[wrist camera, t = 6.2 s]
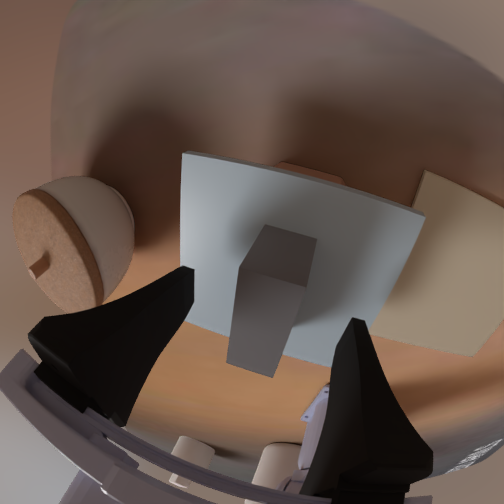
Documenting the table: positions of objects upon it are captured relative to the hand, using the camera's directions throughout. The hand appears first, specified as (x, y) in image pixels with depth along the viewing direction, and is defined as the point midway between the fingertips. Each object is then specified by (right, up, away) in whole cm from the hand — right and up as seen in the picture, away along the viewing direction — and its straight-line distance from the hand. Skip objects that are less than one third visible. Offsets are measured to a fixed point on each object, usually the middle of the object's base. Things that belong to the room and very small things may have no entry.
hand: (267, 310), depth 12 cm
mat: (+14, 0, +4) cm, 15 cm away
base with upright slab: (-13, -42, +40) cm, 60 cm away
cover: (+1, +1, +2) cm, 3 cm away
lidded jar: (-13, +6, +11) cm, 18 cm away
